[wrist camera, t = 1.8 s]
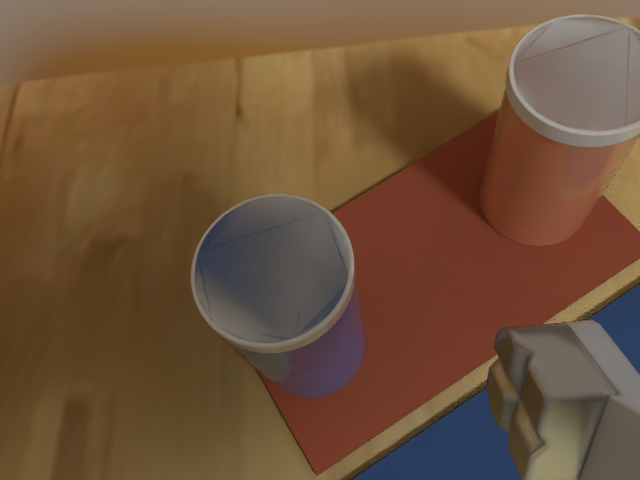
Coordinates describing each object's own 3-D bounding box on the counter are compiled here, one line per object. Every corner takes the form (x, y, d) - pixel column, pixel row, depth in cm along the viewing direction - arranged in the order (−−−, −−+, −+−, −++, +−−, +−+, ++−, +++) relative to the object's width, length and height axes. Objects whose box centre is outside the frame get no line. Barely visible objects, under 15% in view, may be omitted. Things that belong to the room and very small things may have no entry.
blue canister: (328, 266, 31) (299, 165, 22) (391, 357, 28) (387, 286, 19) (233, 325, 30) (163, 246, 21) (289, 423, 28) (237, 382, 19)
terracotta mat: (510, 107, 34) (510, 103, 34) (652, 249, 29) (655, 246, 29) (211, 288, 31) (209, 287, 31) (317, 475, 27) (316, 475, 27)
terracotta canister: (539, 134, 33) (593, -9, 24) (615, 210, 30) (707, 82, 21) (455, 187, 32) (477, 60, 23) (525, 269, 30) (581, 163, 20)
